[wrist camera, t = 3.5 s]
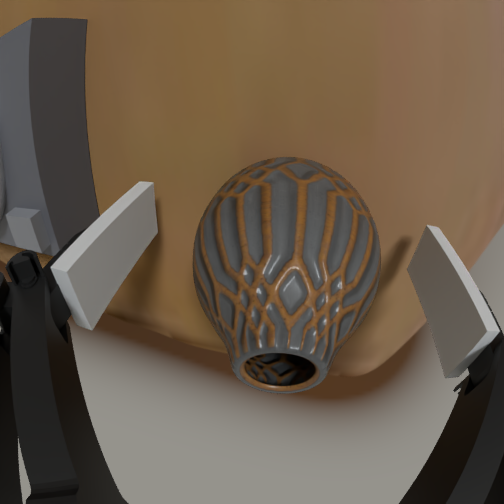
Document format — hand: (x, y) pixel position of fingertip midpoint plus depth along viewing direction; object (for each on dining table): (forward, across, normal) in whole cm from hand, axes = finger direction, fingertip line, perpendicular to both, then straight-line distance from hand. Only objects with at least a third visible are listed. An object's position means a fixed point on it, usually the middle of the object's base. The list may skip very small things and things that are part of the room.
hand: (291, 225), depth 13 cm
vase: (+2, 0, 0) cm, 2 cm away
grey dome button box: (+1, -19, +4) cm, 20 cm away
